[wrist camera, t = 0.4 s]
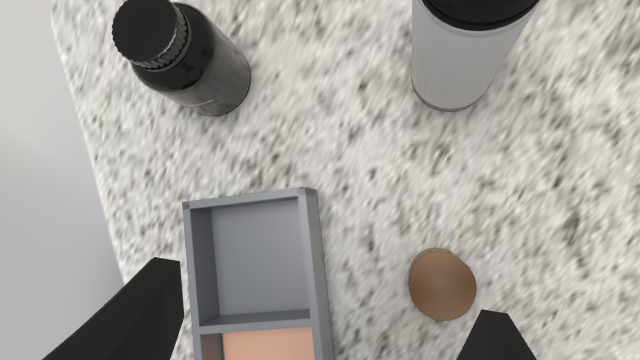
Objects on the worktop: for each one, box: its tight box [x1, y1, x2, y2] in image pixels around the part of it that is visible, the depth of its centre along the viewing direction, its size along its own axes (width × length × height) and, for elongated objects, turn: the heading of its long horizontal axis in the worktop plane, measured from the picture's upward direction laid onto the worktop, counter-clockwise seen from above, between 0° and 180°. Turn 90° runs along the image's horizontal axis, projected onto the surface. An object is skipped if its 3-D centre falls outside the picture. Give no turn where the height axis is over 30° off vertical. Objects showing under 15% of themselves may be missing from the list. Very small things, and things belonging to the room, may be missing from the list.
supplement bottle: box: [112, 0, 250, 115], centre depth 36 cm, size 7×7×12 cm
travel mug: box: [411, 0, 541, 111], centre depth 28 cm, size 6×7×20 cm
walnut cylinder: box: [409, 248, 477, 321], centre depth 34 cm, size 4×4×6 cm
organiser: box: [182, 187, 335, 360], centre depth 37 cm, size 20×10×4 cm, turn 6°
